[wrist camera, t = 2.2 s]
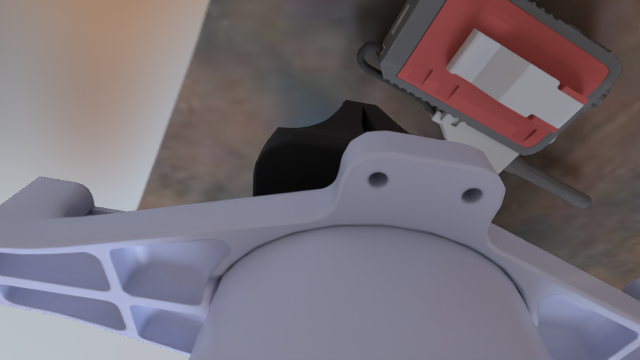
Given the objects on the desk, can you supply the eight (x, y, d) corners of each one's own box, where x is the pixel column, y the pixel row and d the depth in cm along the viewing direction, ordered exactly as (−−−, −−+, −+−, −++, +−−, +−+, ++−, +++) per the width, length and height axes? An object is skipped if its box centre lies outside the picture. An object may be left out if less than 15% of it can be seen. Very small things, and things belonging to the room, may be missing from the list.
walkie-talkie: (337, 82, 21) (564, 202, 25) (335, 109, 17) (600, 244, 21) (420, -71, 16) (685, 108, 20) (440, -78, 12) (758, 142, 16)
